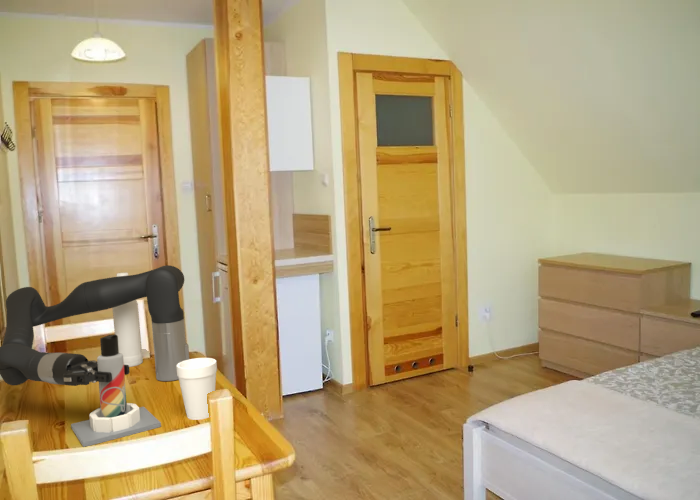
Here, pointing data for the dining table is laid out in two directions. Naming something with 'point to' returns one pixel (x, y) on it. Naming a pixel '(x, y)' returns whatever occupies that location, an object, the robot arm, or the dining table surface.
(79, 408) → the dining table surface
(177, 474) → the dining table surface
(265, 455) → the dining table surface
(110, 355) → the lotion bottle
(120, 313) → the bottle
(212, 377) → the foam cup
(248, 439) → the dining table surface
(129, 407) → the socket
